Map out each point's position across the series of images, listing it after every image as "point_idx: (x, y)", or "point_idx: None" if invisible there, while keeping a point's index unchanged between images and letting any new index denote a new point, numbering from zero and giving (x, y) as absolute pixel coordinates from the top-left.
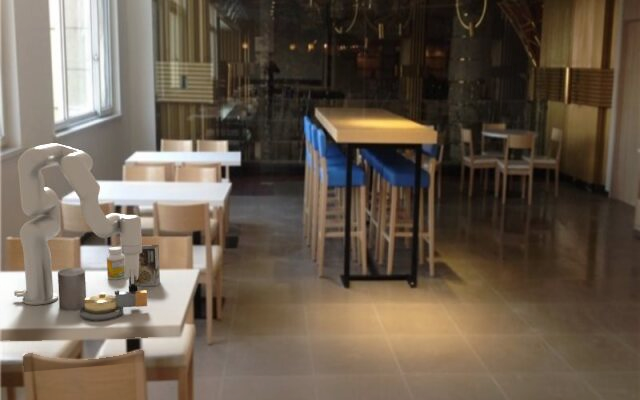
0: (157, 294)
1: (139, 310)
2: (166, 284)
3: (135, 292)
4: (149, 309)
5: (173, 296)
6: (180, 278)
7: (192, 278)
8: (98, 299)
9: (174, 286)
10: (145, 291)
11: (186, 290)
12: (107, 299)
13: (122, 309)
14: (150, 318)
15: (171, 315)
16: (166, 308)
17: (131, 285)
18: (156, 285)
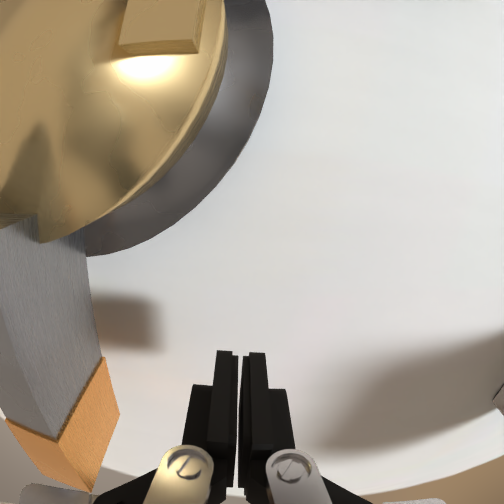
0: (398, 425)
1: (129, 347)
2: (482, 424)
3: (22, 429)
4: (144, 395)
5: (330, 473)
6: (494, 442)
7: (470, 467)
8: (57, 9)
9: (446, 452)
10: (65, 480)
11: (377, 488)
12: (21, 112)
13: None
14: None
15: None
16: (155, 450)
17: (147, 478)
18: (493, 402)
